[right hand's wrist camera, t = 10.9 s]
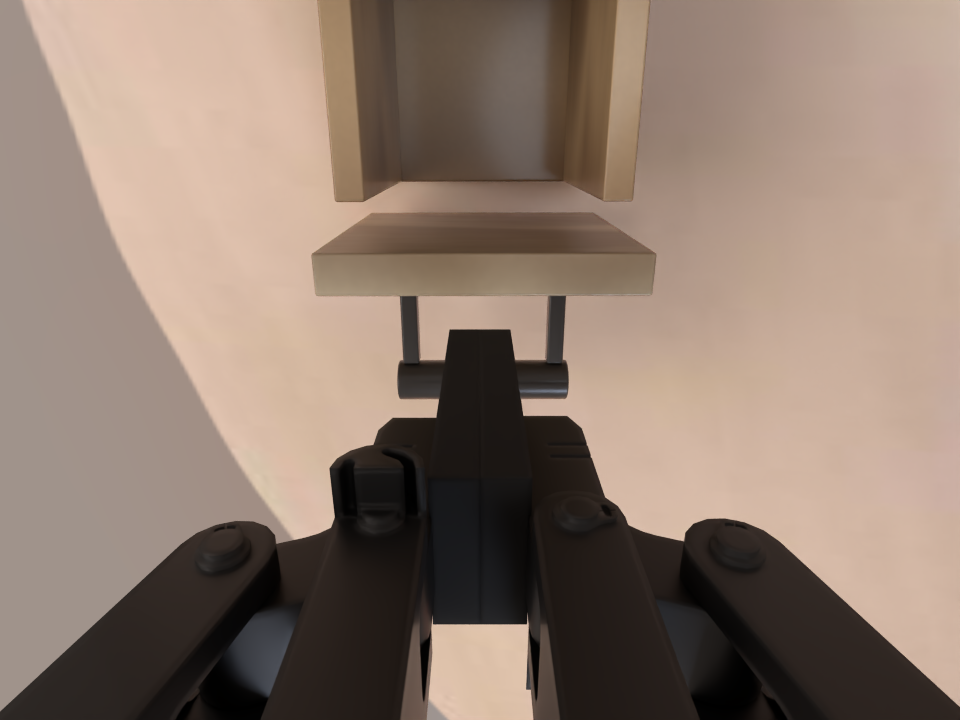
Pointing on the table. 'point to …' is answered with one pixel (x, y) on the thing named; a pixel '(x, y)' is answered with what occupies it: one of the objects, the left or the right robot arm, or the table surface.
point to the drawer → (483, 156)
